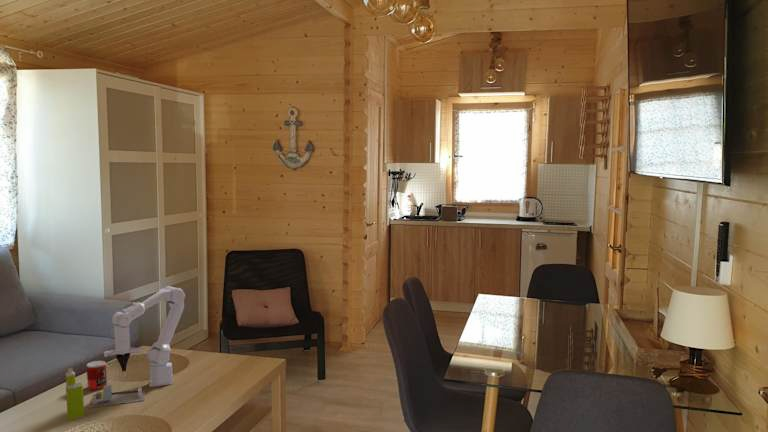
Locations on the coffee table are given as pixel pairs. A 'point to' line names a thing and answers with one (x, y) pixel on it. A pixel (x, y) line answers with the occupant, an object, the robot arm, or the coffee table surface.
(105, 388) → the sleeve
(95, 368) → the canned food
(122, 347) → the robot arm
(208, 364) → the coffee table surface
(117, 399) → the linear slide rail
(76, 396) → the vape
